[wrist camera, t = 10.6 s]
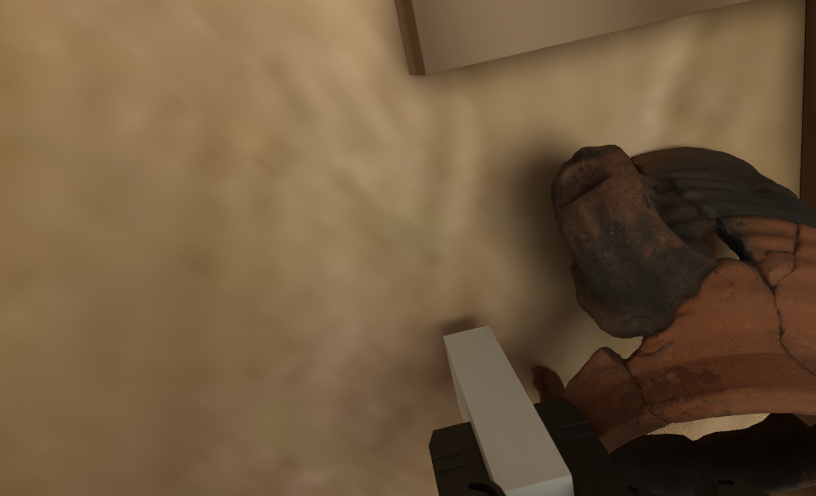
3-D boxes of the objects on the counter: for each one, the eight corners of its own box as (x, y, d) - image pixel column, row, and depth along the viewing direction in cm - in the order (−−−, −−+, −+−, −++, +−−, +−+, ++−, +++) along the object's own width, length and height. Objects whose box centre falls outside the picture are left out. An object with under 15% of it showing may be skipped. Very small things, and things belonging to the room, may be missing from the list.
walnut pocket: (514, 588, 22) (549, 698, 18) (388, -29, 14) (402, -66, 10) (850, 501, 22) (954, 590, 19) (901, -143, 15) (1096, -220, 11)
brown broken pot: (828, 234, 19) (990, 472, 13) (589, 331, 24) (634, 533, 18) (679, -25, 13) (864, 220, 7) (399, 181, 18) (382, 416, 12)
